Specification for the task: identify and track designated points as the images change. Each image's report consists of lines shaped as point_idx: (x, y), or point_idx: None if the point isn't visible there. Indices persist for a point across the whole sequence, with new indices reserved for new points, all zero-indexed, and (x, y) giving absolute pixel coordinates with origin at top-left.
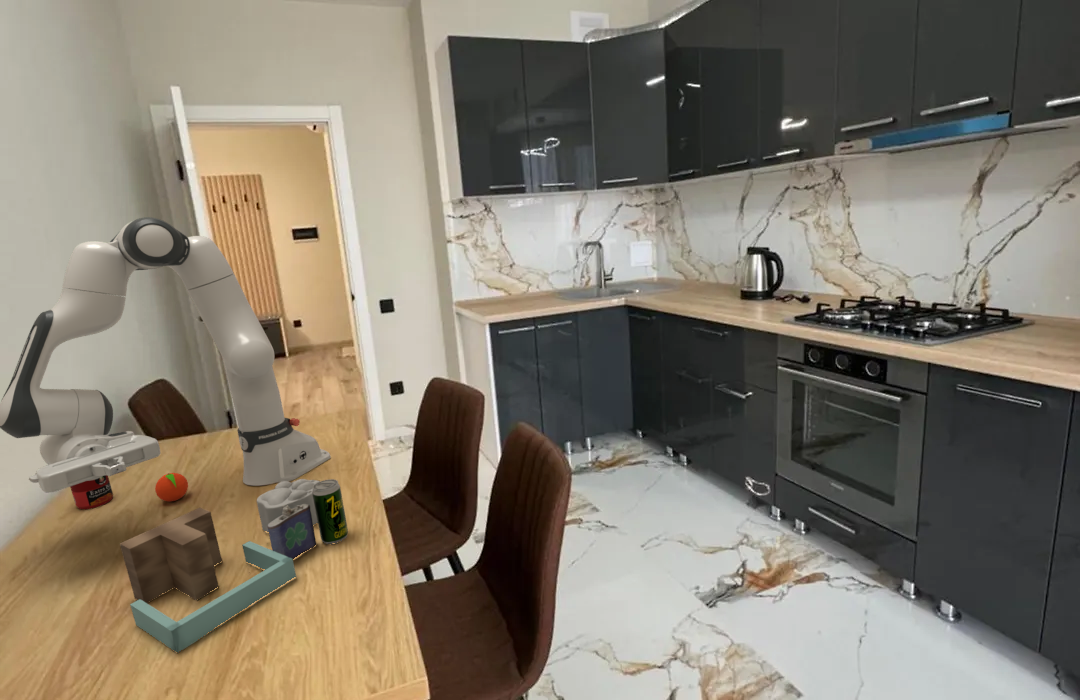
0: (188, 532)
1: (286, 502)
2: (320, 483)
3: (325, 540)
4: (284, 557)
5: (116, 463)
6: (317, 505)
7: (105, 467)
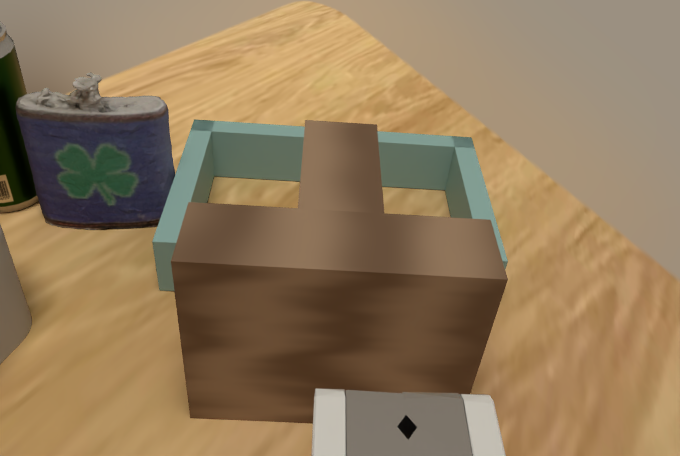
0: (325, 158)
1: None
2: None
3: None
4: (195, 132)
5: (379, 439)
6: (19, 83)
7: (503, 447)
